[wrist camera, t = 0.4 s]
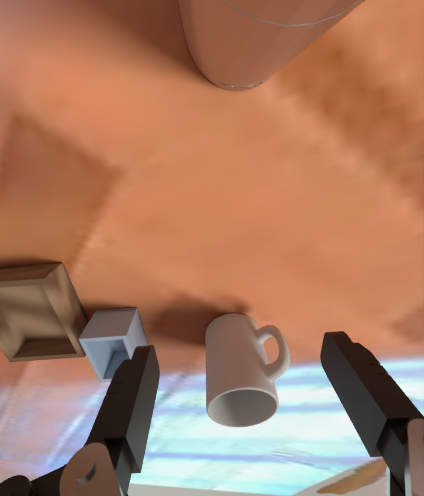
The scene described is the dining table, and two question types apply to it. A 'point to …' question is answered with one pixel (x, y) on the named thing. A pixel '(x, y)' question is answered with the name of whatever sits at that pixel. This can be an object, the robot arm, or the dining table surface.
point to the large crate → (39, 313)
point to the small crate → (112, 339)
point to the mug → (241, 371)
